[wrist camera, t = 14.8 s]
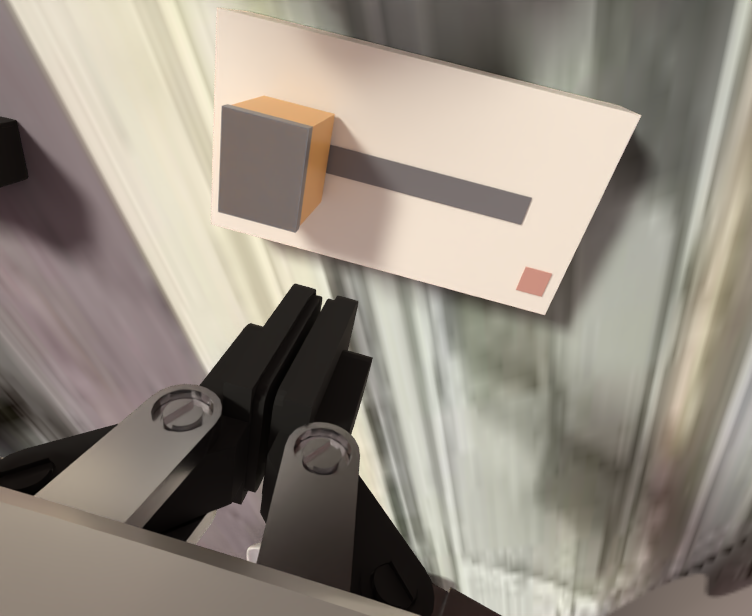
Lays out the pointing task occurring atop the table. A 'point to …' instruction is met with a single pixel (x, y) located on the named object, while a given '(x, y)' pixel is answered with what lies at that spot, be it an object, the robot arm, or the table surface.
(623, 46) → the table surface
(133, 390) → the table surface
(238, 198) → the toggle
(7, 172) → the digital camera
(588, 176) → the slider base
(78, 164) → the table surface
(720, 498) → the table surface
